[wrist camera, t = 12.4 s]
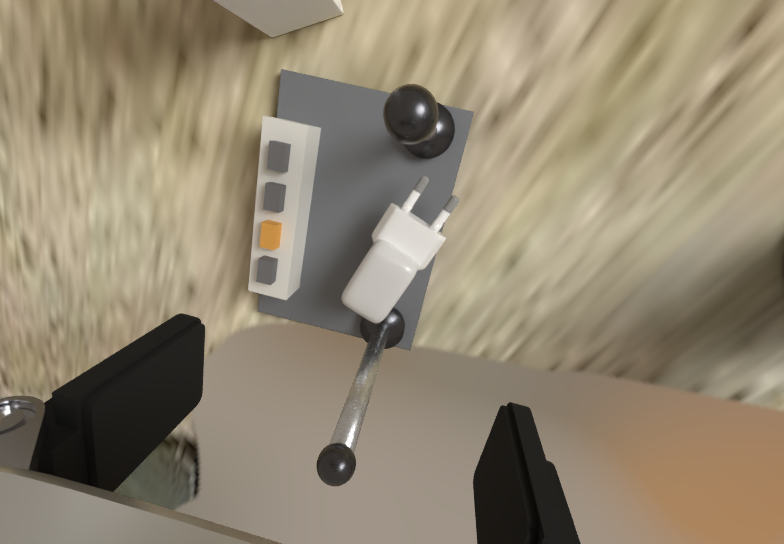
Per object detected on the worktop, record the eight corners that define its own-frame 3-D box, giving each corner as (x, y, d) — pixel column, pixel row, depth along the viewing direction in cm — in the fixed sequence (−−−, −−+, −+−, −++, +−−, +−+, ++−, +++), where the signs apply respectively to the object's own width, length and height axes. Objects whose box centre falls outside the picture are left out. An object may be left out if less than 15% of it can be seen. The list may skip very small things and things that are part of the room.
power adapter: (416, 165, 29) (410, 169, 24) (467, 199, 30) (472, 211, 24) (347, 274, 33) (328, 300, 28) (393, 303, 33) (383, 335, 28)
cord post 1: (409, 310, 33) (378, 461, 17) (399, 347, 35) (363, 519, 19) (366, 299, 34) (296, 438, 18) (358, 337, 35) (287, 498, 19)
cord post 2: (460, 109, 28) (484, 58, 12) (446, 163, 29) (450, 185, 13) (408, 97, 28) (361, 32, 12) (397, 152, 29) (341, 160, 13)
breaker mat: (473, 112, 28) (478, 106, 24) (410, 345, 36) (406, 375, 31) (286, 71, 29) (256, 57, 25) (262, 306, 36) (235, 330, 32)
